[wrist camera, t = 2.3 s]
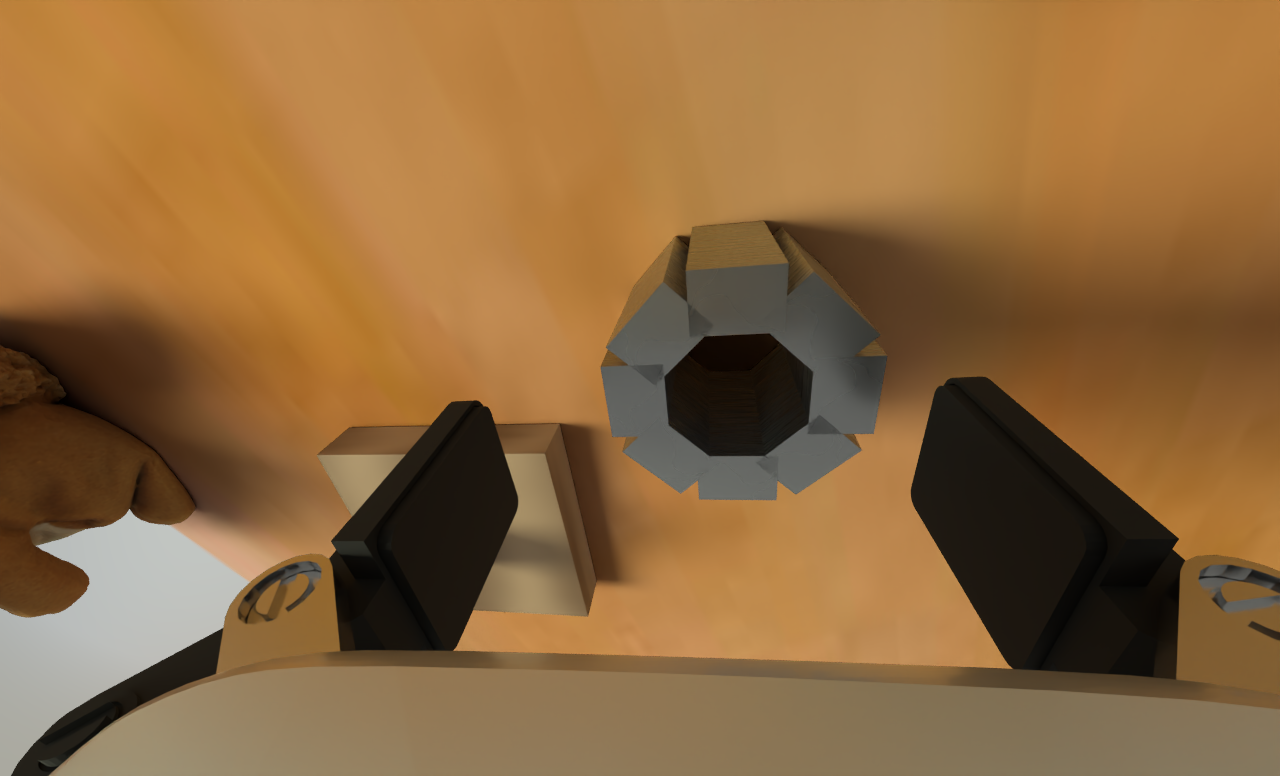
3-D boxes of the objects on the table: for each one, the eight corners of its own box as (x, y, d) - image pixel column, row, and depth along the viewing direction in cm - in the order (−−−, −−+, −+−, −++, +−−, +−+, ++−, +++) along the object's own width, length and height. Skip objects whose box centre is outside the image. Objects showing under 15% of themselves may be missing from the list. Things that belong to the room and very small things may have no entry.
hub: (842, 213, 14) (905, 254, 9) (822, 405, 17) (861, 500, 13) (621, 233, 15) (585, 277, 10) (643, 409, 18) (622, 498, 14)
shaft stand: (559, 423, 19) (483, 577, 12) (596, 580, 24) (555, 750, 17) (349, 427, 21) (185, 565, 14) (424, 574, 25) (328, 725, 19)
